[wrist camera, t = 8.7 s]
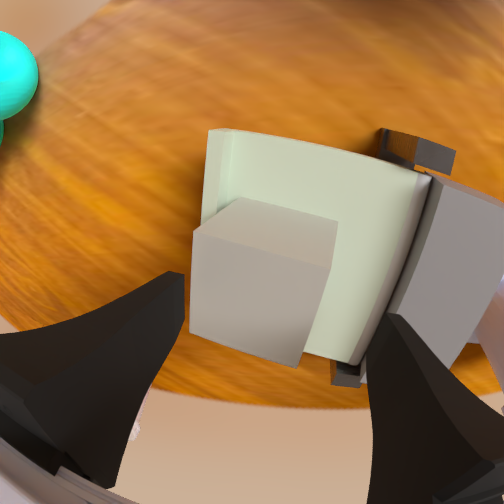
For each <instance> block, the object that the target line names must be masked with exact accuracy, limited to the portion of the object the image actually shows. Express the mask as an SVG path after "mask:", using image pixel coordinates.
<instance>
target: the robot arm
mask: <svg viewBox="0 0 504 504" xmlns="http://www.w3.org/2000/svg"><path fill="white" fill-rule="evenodd" d="M184 319H185V310H184V274H180V273H175V272H171V271H168V272H166V273H164V274H162V275H160V276H158V277H156V278H155V279H153V280H151V281H149V282H148V283H146V284H144V285H142V286H141V287H139V288H137V289H135V290H134V291H132V292H130V293H128V294H126V295H124V296H122V297H120V298H118V299H116V300H114V301H112V302H110V303H109V304H107V305H105V306H102V307H100V308H98V309H96V310H93V311H91V312H89V313H86V314H84V315H81V316H78V317H76V318H73V319H70V320H66V321H63V322H60V323H57V324H53V325H50V326H46V327H42V328H37V329H33V330H27V331H22V332H15V333H6V334H0V504H139V503H136V502H133V501H131V500H129V499H126V498H124V497H121V496H119V495H117V494H115V493H112V492H110V491H108V490H106V489H109V488H112V487H114V486H115V483H116V479H117V475H118V472H119V468H120V464H121V461H122V457H123V454H124V451H125V448H126V445H127V442H128V439H129V436H130V433H131V430H132V428H133V425H134V422H135V420H136V417H137V414H138V412H139V410H140V407H141V405H142V402H143V400H144V397H145V395H146V393H147V391H148V389H149V387H150V385H151V384H152V382H153V380H154V378H155V377H156V375H157V373H158V371H159V370H160V368H161V366H162V364H163V363H164V361H165V359H166V357H167V356H168V354H169V352H170V350H171V349H172V347H173V345H174V343H175V341H176V339H177V337H178V334H179V332H180V329H181V327H182V324H183V322H184ZM467 343H478V344H480V345H481V347H482V349H483V351H484V353H485V354H486V356H487V358H488V361H489V363H490V365H491V367H492V369H493V371H494V373H495V375H496V377H497V380H498V382H499V384H500V386H501V388H502V391H503V393H504V275H503V277H502V279H501V281H500V283H499V285H498V288H497V290H496V292H495V294H494V296H493V297H492V299H491V301H490V303H489V305H488V307H487V309H486V311H485V312H484V314H483V316H482V318H481V320H480V321H479V323H478V325H477V326H476V328H475V330H474V331H473V333H472V335H471V336H470V338H469V340H468V341H467ZM366 379H367V387H368V395H369V402H370V410H371V419H372V429H373V452H372V453H373V454H372V467H371V478H370V485H369V492H368V498H367V504H504V501H503V499H502V495H503V494H504V416H502V415H500V414H499V413H498V412H496V411H495V410H493V409H492V408H491V407H489V406H488V405H487V404H485V403H484V402H483V401H482V400H480V399H479V398H478V397H477V396H476V395H474V394H473V393H472V392H471V391H470V390H469V389H468V388H467V387H466V386H465V385H463V384H462V383H461V382H460V381H459V380H458V379H457V378H456V377H455V376H454V375H453V374H452V373H451V372H450V371H449V369H448V368H447V367H446V366H445V365H444V364H443V363H442V362H441V361H440V360H439V358H438V357H437V356H436V355H435V354H434V353H433V352H432V350H431V349H430V348H429V347H428V346H427V344H426V343H425V342H424V341H423V340H422V338H421V337H420V336H419V335H418V334H417V333H416V331H415V330H414V329H413V328H412V327H411V325H410V324H409V323H408V322H407V321H406V320H405V319H404V318H403V317H402V316H401V315H400V314H394V313H388V312H385V314H384V316H383V318H382V320H381V323H380V325H379V327H378V329H377V331H376V333H375V336H374V338H373V340H372V342H371V344H370V346H369V348H368V350H367V352H366ZM501 409H502V412H503V415H504V406H503V407H502V408H501Z"/></svg>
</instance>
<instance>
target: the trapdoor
mask: <svg viewBox="0 0 504 504" xmlns="http://www.w3.org/2000/svg"><path fill="white" fill-rule="evenodd" d="M239 197H244V198H249V199H253V200H257V201H261V202H265V203H270V204H274V205H278V206H282V207H286V208H290V209H294V210H298V211H301V212H305V213H309V214H313V215H317V216H320V217H324V218H328V219H332V220H335V221H338V228H337V235H336V241H335V247H334V253H333V259H332V265H331V270H330V273H329V277H328V280H327V283H326V286H325V289H324V292H323V295H322V299H321V302H320V305H319V308H318V311H317V313H316V316H315V319H314V322H313V325H312V328H311V331H310V334H309V336H308V339H307V342H306V345H305V347H304V350H303V352H307V353H311V354H314V355H318V356H322V357H326V358H330V359H334V360H338V361H342V362H346V363H348V364H350V365H358V364H359V363H360V361H361V373H360V382H361V383H366V384H367V379H366V352H367V350H368V348H369V346H370V344H371V342H372V340H373V338H374V336H375V333H376V331H377V329H378V327H379V325H380V323H381V320H382V318H383V316H384V314H385V312H388V313H394V314H400V315H401V316H402V317H403V318H404V319H405V320H406V321H407V322H408V323H409V324H410V325H411V327H412V328H413V329H414V330H415V331H416V333H417V334H418V335H419V336H420V337H421V338H422V340H423V341H424V342H425V343H426V344H427V346H428V347H429V348H430V349H431V350H432V352H433V353H434V354H435V355H436V356H437V357H438V358H439V360H440V361H441V362H442V363H443V364H444V365H445V366H446V367H447V368H448V369H449V368H450V367H451V365H452V364H453V362H454V361H455V359H456V358H457V357H458V355H459V354H460V352H461V351H462V349H463V347H464V346H465V344H466V343H467V341H468V340H469V338H470V336H471V335H472V333H473V331H474V330H475V328H476V326H477V325H478V323H479V321H480V320H481V318H482V316H483V314H484V312H485V311H486V309H487V307H488V305H489V303H490V301H491V299H492V297H493V296H494V294H495V292H496V290H497V288H498V285H499V283H500V281H501V279H502V277H503V275H504V203H502V202H501V201H499V200H498V199H496V198H494V197H491V196H489V195H487V194H484V193H482V192H480V191H477V190H475V189H472V188H470V187H467V186H465V185H462V184H460V183H457V182H454V181H452V180H449V179H446V178H444V177H441V176H438V175H435V174H432V173H429V172H426V171H425V172H424V173H423V172H420V171H416V170H413V169H410V168H407V167H404V166H400V165H397V164H394V163H390V162H387V161H383V160H380V159H376V158H373V157H369V156H365V155H362V154H358V153H354V152H350V151H346V150H342V149H338V148H333V147H329V146H325V145H320V144H315V143H311V142H306V141H301V140H296V139H291V138H285V137H280V136H274V135H268V134H262V133H256V132H249V131H242V130H235V129H228V128H223V129H214V130H209V133H208V143H207V153H206V163H205V174H204V186H203V199H202V213H201V225H202V224H204V223H205V222H206V221H208V220H209V219H210V218H212V217H213V216H214V215H216V214H217V213H219V212H220V211H221V210H223V209H224V208H225V207H227V206H228V205H230V204H231V203H232V202H234V201H235V200H237V199H238V198H239Z"/></svg>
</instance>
